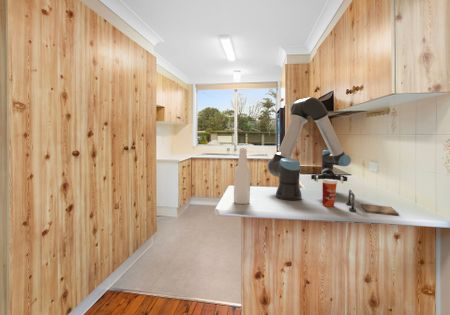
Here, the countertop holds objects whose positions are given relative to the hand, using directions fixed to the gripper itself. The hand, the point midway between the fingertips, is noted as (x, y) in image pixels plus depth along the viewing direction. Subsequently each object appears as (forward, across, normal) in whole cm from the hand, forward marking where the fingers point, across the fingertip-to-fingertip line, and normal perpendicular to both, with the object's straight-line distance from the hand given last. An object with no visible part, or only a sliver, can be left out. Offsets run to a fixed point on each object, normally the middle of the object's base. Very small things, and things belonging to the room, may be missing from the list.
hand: (329, 180), depth 146 cm
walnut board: (+10, -23, -12) cm, 28 cm away
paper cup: (+11, +1, -12) cm, 17 cm away
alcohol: (+24, +46, -11) cm, 53 cm away
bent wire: (+11, -10, -12) cm, 19 cm away
